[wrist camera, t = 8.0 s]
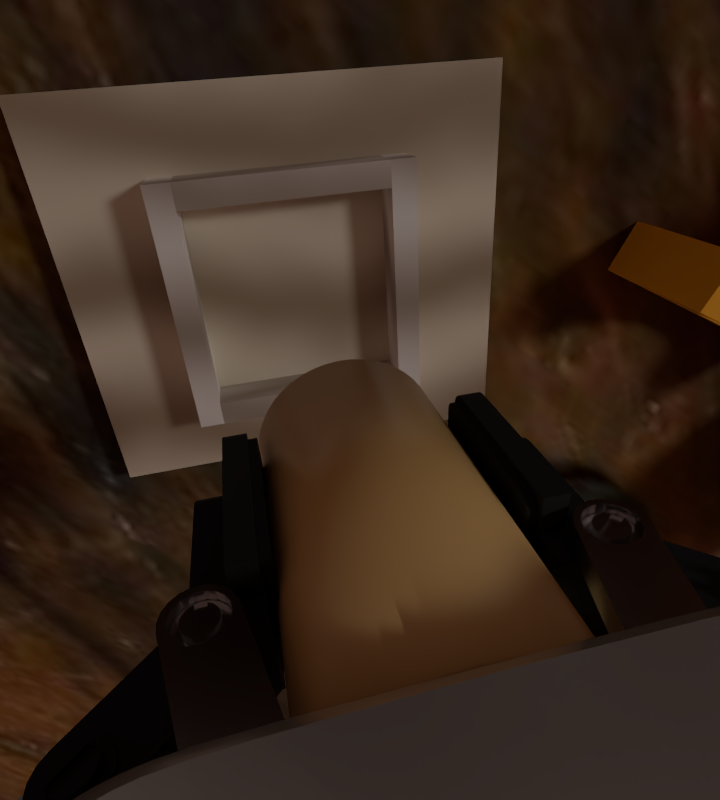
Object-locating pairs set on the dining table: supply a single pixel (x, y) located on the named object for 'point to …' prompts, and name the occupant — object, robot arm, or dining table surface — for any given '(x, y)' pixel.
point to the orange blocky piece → (673, 268)
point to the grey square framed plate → (266, 237)
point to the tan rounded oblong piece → (391, 544)
